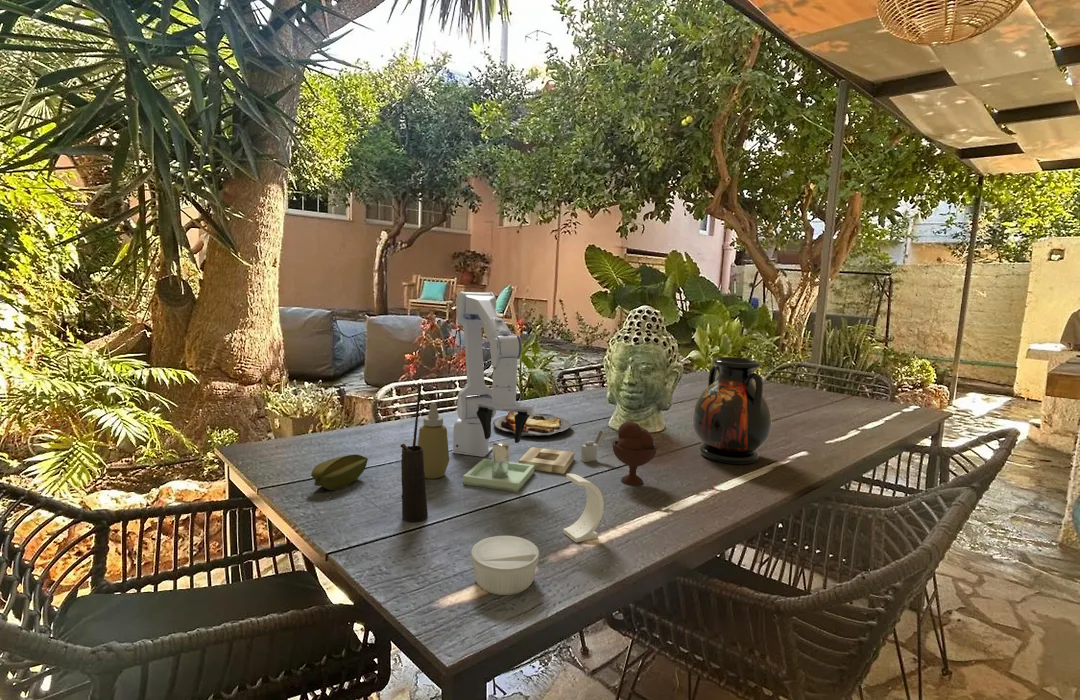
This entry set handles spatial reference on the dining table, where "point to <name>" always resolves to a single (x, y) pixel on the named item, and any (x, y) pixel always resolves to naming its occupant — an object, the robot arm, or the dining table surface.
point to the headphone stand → (586, 512)
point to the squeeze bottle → (434, 444)
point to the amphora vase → (732, 413)
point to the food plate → (534, 424)
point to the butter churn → (413, 478)
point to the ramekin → (504, 564)
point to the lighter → (592, 447)
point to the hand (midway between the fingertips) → (502, 439)
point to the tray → (513, 482)
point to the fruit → (339, 471)
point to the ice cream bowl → (633, 450)
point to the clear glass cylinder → (500, 460)
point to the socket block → (548, 459)
